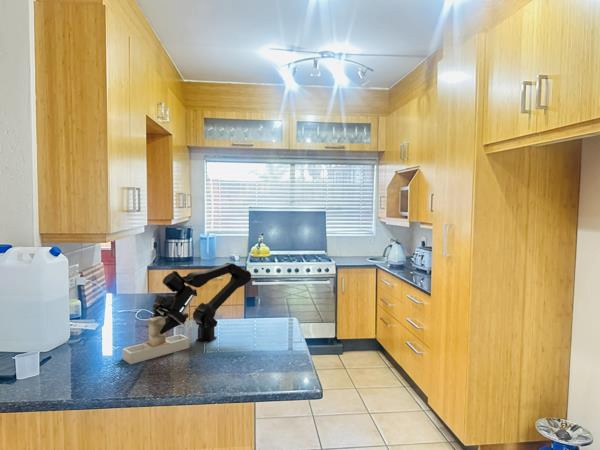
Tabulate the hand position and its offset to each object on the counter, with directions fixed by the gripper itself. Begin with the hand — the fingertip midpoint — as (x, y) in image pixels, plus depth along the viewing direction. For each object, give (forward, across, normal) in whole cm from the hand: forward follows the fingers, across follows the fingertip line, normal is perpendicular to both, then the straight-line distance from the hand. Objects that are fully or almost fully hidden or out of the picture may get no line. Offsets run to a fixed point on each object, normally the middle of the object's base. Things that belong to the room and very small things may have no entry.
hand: (155, 331), depth 156 cm
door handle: (-11, -42, +25) cm, 50 cm away
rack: (+6, 0, +7) cm, 9 cm away
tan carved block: (+5, 0, +6) cm, 8 cm away
